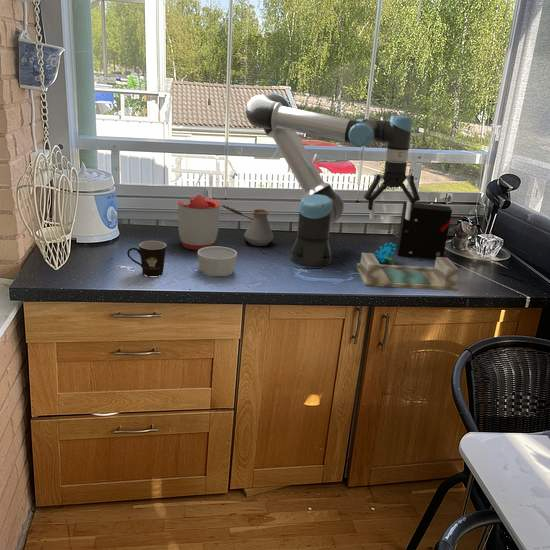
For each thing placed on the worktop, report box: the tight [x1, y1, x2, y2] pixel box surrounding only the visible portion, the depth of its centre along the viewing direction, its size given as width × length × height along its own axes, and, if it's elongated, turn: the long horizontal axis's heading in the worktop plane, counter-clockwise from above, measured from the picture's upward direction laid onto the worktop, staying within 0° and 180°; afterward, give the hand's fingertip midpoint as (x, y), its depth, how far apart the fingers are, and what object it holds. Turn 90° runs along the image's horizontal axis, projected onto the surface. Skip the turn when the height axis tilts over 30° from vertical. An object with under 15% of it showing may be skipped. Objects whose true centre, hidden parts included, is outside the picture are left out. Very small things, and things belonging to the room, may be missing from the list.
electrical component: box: [395, 201, 453, 260], centre depth 223 cm, size 18×10×20 cm, turn 84°
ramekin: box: [197, 245, 238, 277], centre depth 192 cm, size 13×13×7 cm
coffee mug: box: [127, 240, 167, 276], centre depth 185 cm, size 12×9×10 cm
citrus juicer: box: [177, 194, 221, 251], centre depth 213 cm, size 16×17×20 cm
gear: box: [374, 242, 397, 265], centre depth 214 cm, size 11×6×10 cm
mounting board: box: [355, 252, 460, 291], centre depth 198 cm, size 32×16×7 cm, turn 93°
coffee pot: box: [219, 204, 274, 247], centre depth 222 cm, size 21×12×15 cm, turn 99°
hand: (389, 219), depth 209 cm, fingers open, 13 cm apart
